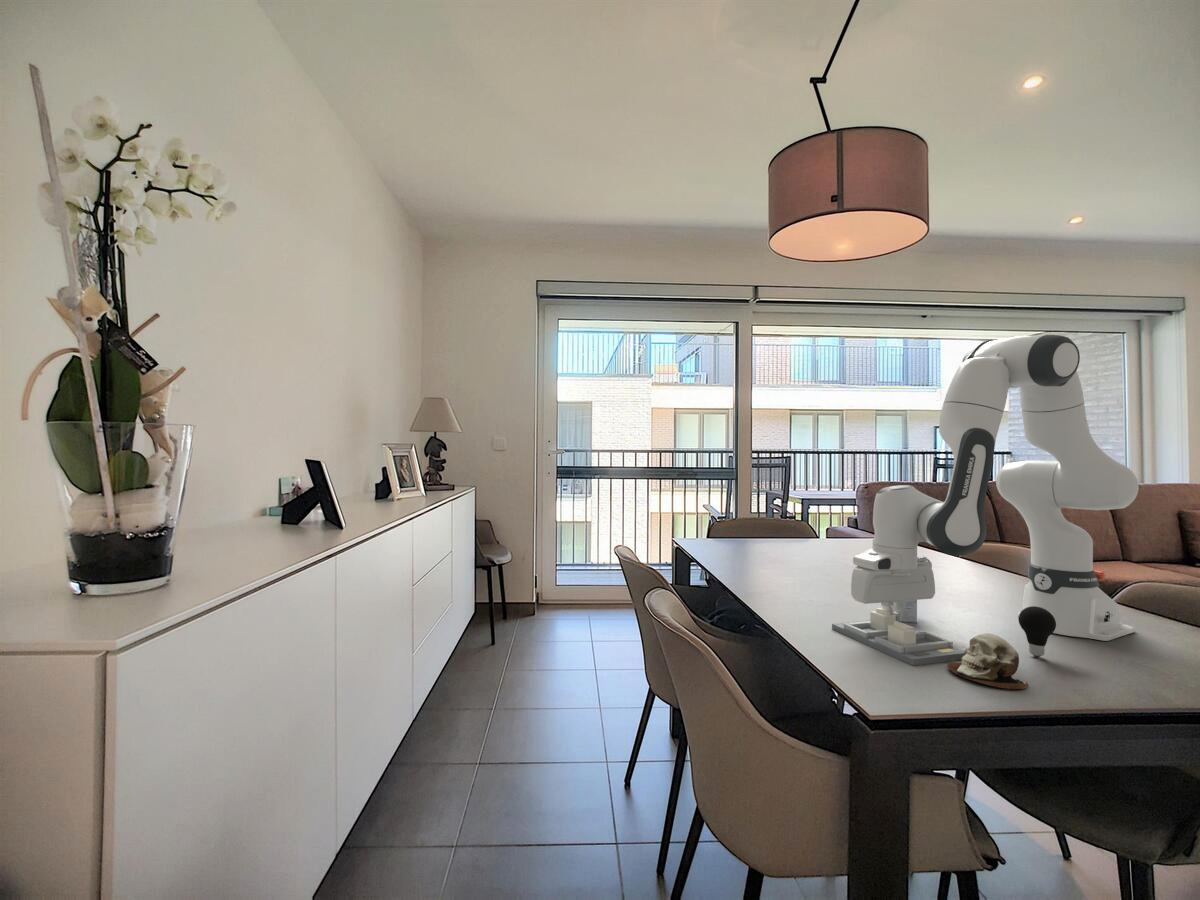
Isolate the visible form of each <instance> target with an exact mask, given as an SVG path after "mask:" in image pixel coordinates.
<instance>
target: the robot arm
mask: <svg viewBox="0 0 1200 900" xmlns="http://www.w3.org/2000/svg"><path fill="white" fill-rule="evenodd" d="M1080 355H1081V354H1080V349H1079V347H1078V346H1077V344H1075V343H1074V341H1073V340H1072V339H1071V338H1069V337H1067V336H1064V335H1059V334H1043V335H1016V336H1013V337H1008V338H1001V339H994V340H993V339H990V340H989V339H988V340H985V341H984V340H983V341H981V342H978V343H975V344H972V346H970V347H969V348H968V350H967V351H966V352H965V354H964V355H963V358H962V362H961V363H960V364H959V366H958V368H957V369H956V372H955V373H954V376H953V378H952V379H951V382H950V384H949V387H948V389H947V391H946V394H945V397H944V400H943V404H942V407H941V410H940V415H939V421H938V422H939V425H938V433H939V435H940V437H941V439H942V440H944V442H945V443H946V444H947V445H948V447H949V448H950V450H951V453H952V455H953V467H952V471H951V477H950V481H949V485H948V491H947V495H946V497H945V501H941V500H939V499H937V498H934V497H932V496H929V495H927V494H925V493H923V492H921V491H919V490H918V489H916V487H914V486H913V485H909V484H908V485H907V484H902V485H899V484H898V485H890V486H886V487H883V488H881V489H879V490H878V491H877V492H876V494H875V498H874V503H873V508H872V509H873V510H872V511H873V513H872V527H873V530H874V534H873V535H874V536H873V539H872V547H870V548H868V549H866V550H864V551H862V552H860V553H858V554H855V555H854V556H853V557H852V563H853V565H855V567H854V568H853V570H852V572H851V573H852V574H851V583H850V591H851V597H852V599H853V600H854V601H855V602H857V603H861V604H864V605H866V604H880V605H881V607H882V609H883V610H886V611H889V612H890V614H892V615H895V616H896V621H898V622H899V621H901V620H902V613H903V611H904V609H905V607H906V603H907V600H917V601H919V600H931V599H933V598H934V597H935V595H936V583H935V582H936V581H935V576H934V570H933V563H932V562H931V560H930V559H929V558H927V557H926V556H920V557H919V556H918V545H919V543H921V542H922V543H928V544H929V545H932V546H933V547H934V548H936V549H938V550H939V551H940V552H942V553H944V554H945V555H948V556H953V557H964V556H968V555H971V554H972V553H975V552H976V551H977V550H978V549H980V548H981V546H983V544H984V543H985V540H986V537H987V532H988V531H987V522H986V516H985V502H986V496H987V492H988V486H989V483H990V477H991V471H992V467H993V460H994V454H995V448H996V440H997V437H998V434H999V429H1000V425H1001V423H1002V419H1003V416H1004V415H1003V414H1004V412H1005V408H1006V404H1007V400H1008V399H1007V398H1008V394H1009V393H1008V392H1009V390H1010V388H1011V389H1012V388H1013V389H1014V388H1017V389H1018V388H1019V391H1020V392H1019V393H1020V394H1019V395H1020V408H1021V414H1022V422H1023V423H1022V424H1023V431H1024V436H1025V438H1026V440H1027V442H1029V443H1030V444H1031V445H1032V446H1034V447H1035V448H1037V449H1040V450H1042V451H1045V452H1047V453H1049V454H1050V455H1051V456H1053V458H1055V459H1056V460H1042V459H1040V460H1039V459H1038V460H1035V459H1034V460H1033V459H1032V460H1031V459H1030V460H1021V461H1013V462H1009V463H1008V462H1007V463H1005V464H1004V465H1003V466H1002V467H1001V468H1000V469H999V470H998V473H997V475H996V479H995V485H996V489H997V491H998V493H999V494H1000V496H1001V497H1002V498H1003V499H1004V500H1005V501H1007V502H1008V503H1009V504H1011V505H1012V506H1013V507H1014V508H1015V509H1016V510H1017V511H1018V513H1019V514H1020V515H1021V517H1022V518H1023V519H1024V521H1025V524H1026V527H1027V528H1028V533H1029V539H1030V540H1029V541H1030V543H1029V544H1030V563H1028V568H1027V573H1028V574H1027V577H1028V579H1029V582H1028V583H1026V584H1025V586H1024V590H1023V600H1022V604H1021V605H1022V606H1021V611H1022V610H1023V609H1025V608H1027V607H1031V606H1036V607H1041V608H1044V609H1046V610H1047V611H1049V612H1050V613H1051V614H1052V615H1053V617H1054V618H1055V621H1056V628H1055V630H1054V632H1053V633H1052V634H1057V635H1061V636H1067V637H1068V636H1069V637H1076V638H1084V639H1093V640H1097V641H1105V642H1108V641H1111V640H1115V639H1118V638H1121V637H1124V636H1127V635H1129V634H1133V633H1135V628H1134V627H1133V626H1131V625H1128V624H1126V623H1123V622H1121V619H1120V618H1121V617H1120V615H1121V614H1120V607H1119V604H1118V603H1117V602H1116V601H1115V600H1113V598H1111V597H1110V596H1109V595H1108V594H1107V593H1105V592H1104V591H1103V590H1102V589H1101V588H1100V587H1099V586H1100V584H1099V581H1098V580H1100V581H1105V580H1106V578H1107V575H1106V572H1105V571H1103V570H1101V571H1100V570H1095V569H1094V570H1093V568H1094V566H1093V565H1094V563H1093V561H1094V559H1093V558H1094V540H1093V538H1092V536H1091V535H1090V533H1089V532H1087V530H1085V529H1083V527H1081V526H1078V525H1076V524H1074V523H1072V522H1070V521H1068V520H1067V518H1066V517H1065V516H1064V515H1063V513H1062V509H1065V508H1066V509H1074V510H1075V509H1076V510H1085V511H1086V510H1087V511H1088V510H1089V511H1108V510H1121V509H1126V508H1127V507H1129V506H1130V505H1131V504H1132V503H1133V502H1134V501H1135V499H1136V498H1137V496H1138V493H1139V487H1140V486H1139V485H1140V484H1139V481H1138V478H1137V476H1136V475H1135V473H1134V472H1133V471H1132V469H1131V468H1129V467H1128V466H1126V465H1124V464H1123V463H1120V462H1118V461H1116V460H1115V459H1114V458H1112V457H1110V456H1109V455H1108V454H1106V453H1105V452H1104V451H1103V450H1102V449H1101V447H1099V446H1098V444H1097V442H1095V440H1094V439H1093V437H1092V434H1091V431H1090V428H1089V424H1088V419H1087V414H1086V406H1085V405H1086V404H1085V399H1084V393H1083V392H1084V391H1083V387H1082V384H1081V383H1082V382H1081V379H1080V377H1079V373H1078V371H1077V370H1078V367H1079V365H1080V361H1081V358H1080V357H1081V356H1080ZM893 602H894V603H896V605H895V607H894V610H892V607H891V606H893ZM1021 611H1018V612H1017V618H1019V614H1020V612H1021Z"/></svg>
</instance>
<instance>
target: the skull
mask: <svg viewBox="0 0 1200 900" xmlns="http://www.w3.org/2000/svg"><path fill="white" fill-rule="evenodd" d="M963 650H964V653H965V655H964V656H963V657H962V659H961V661H951V662H949V663H947V668H948V670H949V671H951V672H952V673H954V674H956V675H957V676H960V677H962V678H963V679H966V680H969V681H973V682H977V683H979V684H983V685H986V686H990V687H995V688H996V687H997V688H1001V689H1003V690H1008V691H1009V690H1025V689H1028V688H1029V683H1028V681H1025V682H1024V681H1023V680H1021V679H1019V678H1020V677H1019V678H1018V679H1017V678H1016V679H1015V678H1013V676H1014V675H1015V674H1016V672H1017V671H1018V669H1019V664H1020V656H1019V653H1018V651H1017V650H1016V648H1015V647H1014V646H1013V645H1012V644H1010V642H1008V641H1007V640H1006V639H1004V638H1002V637H1000V636H999V635H996V634H994V633H987V632H986V633H981V634H978V635H976V636H974V637H972V638H970V639H969V648H965V649H963Z"/></svg>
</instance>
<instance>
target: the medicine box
mask: <svg viewBox="0 0 1200 900" xmlns="http://www.w3.org/2000/svg"><path fill="white" fill-rule="evenodd" d="M895 605H896V603H894V602H893V606H891V607H892V610H894V607H895ZM898 622H901V623H913V624H917V623H918V600H907V603H906V607H905V609H904V611H903V613H902V620H901V621H898Z"/></svg>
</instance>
